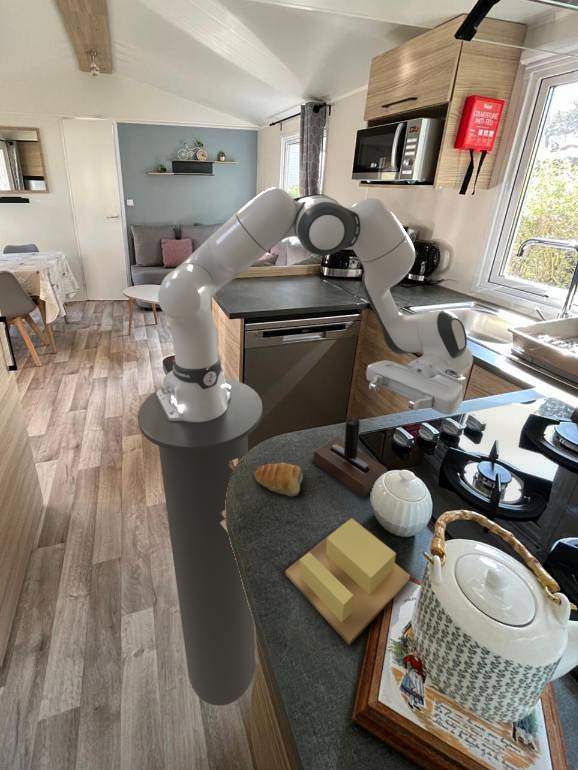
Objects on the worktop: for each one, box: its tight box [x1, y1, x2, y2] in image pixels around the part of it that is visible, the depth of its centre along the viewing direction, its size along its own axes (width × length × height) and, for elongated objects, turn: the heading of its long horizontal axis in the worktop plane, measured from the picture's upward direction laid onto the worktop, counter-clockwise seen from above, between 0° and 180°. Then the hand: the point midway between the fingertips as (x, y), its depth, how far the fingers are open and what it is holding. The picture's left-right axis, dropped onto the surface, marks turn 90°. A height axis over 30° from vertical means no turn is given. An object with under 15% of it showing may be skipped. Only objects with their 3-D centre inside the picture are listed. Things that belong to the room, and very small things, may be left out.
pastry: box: [253, 461, 304, 497], centre depth 75 cm, size 9×7×4 cm
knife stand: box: [313, 436, 388, 499], centre depth 77 cm, size 12×7×3 cm, turn 37°
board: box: [284, 522, 411, 646], centre depth 57 cm, size 12×14×1 cm
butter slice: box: [299, 551, 353, 622], centre depth 53 cm, size 8×2×4 cm, turn 37°
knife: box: [333, 417, 369, 473], centre depth 75 cm, size 8×2×12 cm, turn 37°
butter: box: [326, 517, 397, 595], centre depth 58 cm, size 8×6×4 cm
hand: (390, 396), depth 80 cm, fingers open, 8 cm apart
